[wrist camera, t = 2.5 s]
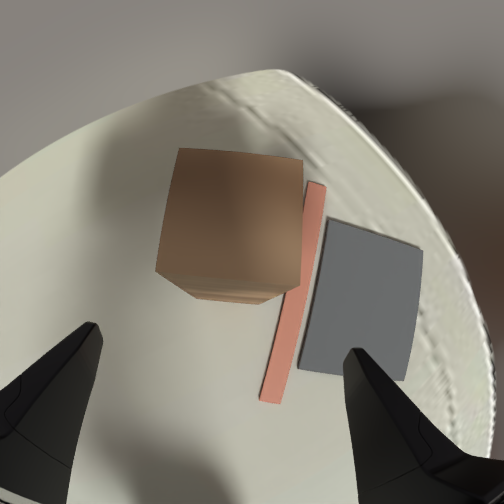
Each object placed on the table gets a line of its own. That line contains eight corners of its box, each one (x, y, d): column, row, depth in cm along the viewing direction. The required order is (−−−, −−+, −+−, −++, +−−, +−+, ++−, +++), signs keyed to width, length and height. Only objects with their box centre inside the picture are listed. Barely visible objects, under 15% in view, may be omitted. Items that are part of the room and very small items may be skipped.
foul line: (279, 403, 19) (280, 404, 18) (258, 399, 19) (259, 400, 18) (325, 188, 23) (326, 186, 23) (307, 183, 23) (308, 181, 23)
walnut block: (258, 304, 20) (300, 285, 9) (196, 298, 20) (155, 271, 8) (262, 244, 21) (302, 160, 10) (203, 238, 21) (179, 147, 9)
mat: (401, 380, 20) (403, 381, 19) (297, 368, 19) (298, 369, 19) (420, 251, 23) (423, 250, 22) (327, 221, 22) (329, 219, 22)
